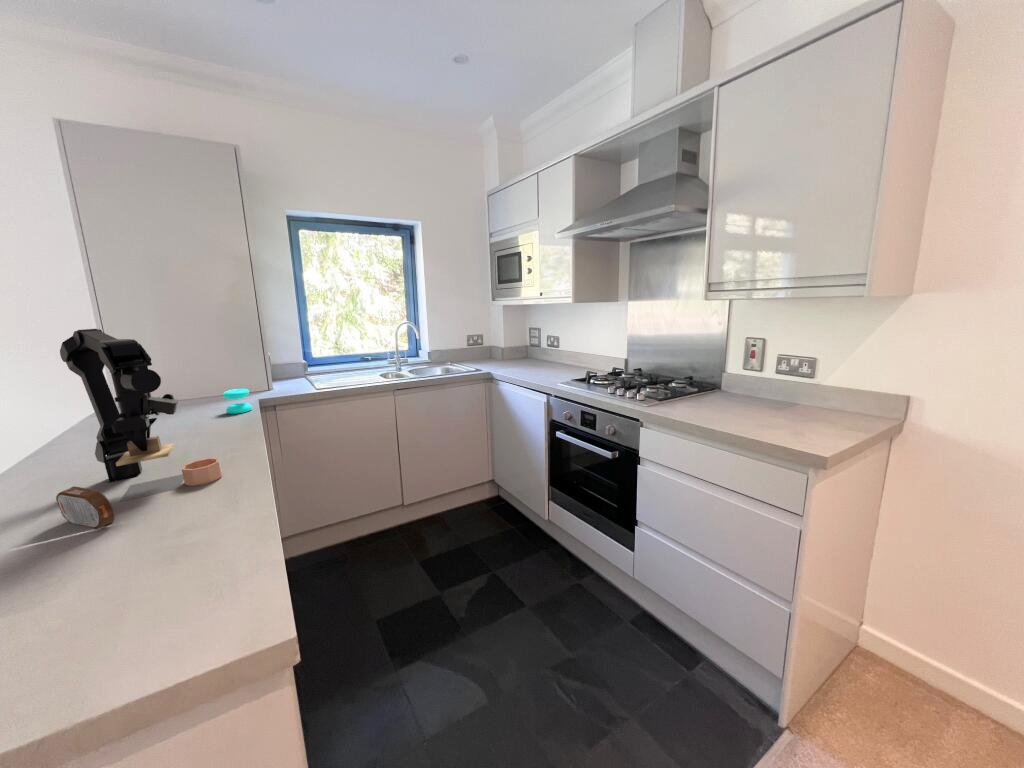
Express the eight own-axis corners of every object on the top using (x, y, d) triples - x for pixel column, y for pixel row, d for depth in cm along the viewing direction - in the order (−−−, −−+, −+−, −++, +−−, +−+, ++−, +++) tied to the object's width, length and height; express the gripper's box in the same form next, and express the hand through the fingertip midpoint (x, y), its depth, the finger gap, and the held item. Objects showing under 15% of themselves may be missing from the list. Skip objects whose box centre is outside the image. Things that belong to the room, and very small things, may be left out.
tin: (119, 525, 93) (110, 489, 91) (102, 533, 90) (91, 496, 88) (78, 517, 98) (68, 483, 96) (60, 524, 95) (49, 489, 93)
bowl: (184, 490, 109) (180, 472, 108) (188, 480, 116) (184, 463, 115) (221, 482, 113) (217, 464, 112) (223, 472, 120) (219, 455, 119)
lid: (116, 466, 103) (112, 449, 102) (126, 454, 111) (122, 439, 111) (168, 456, 108) (164, 440, 107) (174, 445, 116) (170, 431, 116)
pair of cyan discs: (237, 392, 185) (216, 393, 186) (241, 414, 187) (221, 415, 188) (253, 387, 194) (234, 388, 196) (257, 408, 196) (238, 409, 198)
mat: (119, 503, 104) (118, 502, 103) (130, 486, 114) (130, 485, 114) (180, 489, 110) (179, 488, 109) (186, 474, 120) (185, 473, 120)
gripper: (165, 391, 102) (179, 452, 106) (176, 380, 118) (188, 434, 121) (103, 399, 97) (120, 463, 100) (124, 387, 113) (138, 442, 116)
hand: (145, 449), depth 109 cm, fingers closed on lid, 2 cm apart
